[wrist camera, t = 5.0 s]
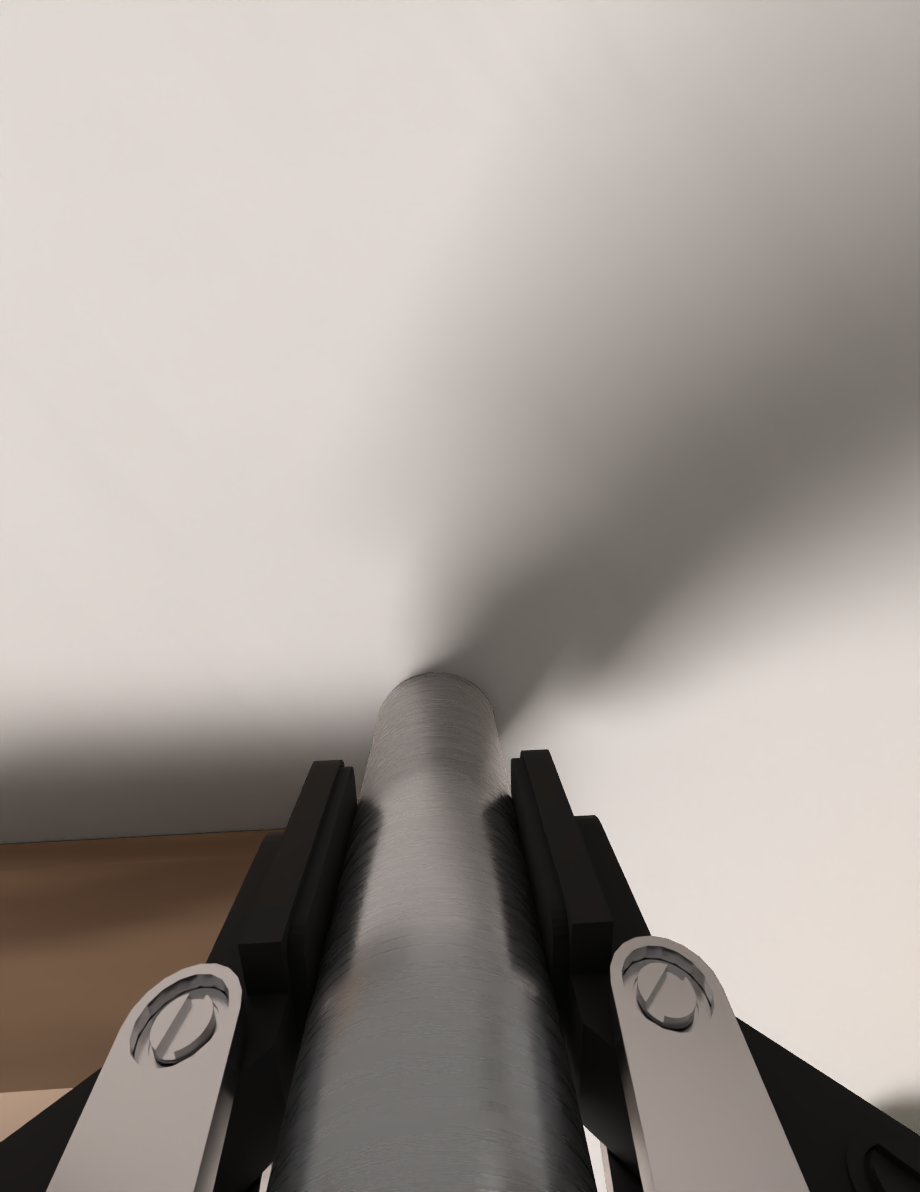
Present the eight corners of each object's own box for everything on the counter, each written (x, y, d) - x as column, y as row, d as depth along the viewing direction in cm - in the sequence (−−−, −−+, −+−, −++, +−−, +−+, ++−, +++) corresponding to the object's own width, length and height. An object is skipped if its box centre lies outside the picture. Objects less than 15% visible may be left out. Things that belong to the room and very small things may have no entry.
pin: (373, 675, 13) (-105, 2228, 2) (494, 670, 13) (872, 2094, 2) (381, 781, 14) (110, 2301, 2) (495, 775, 14) (756, 2208, 3)
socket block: (-136, 851, 14) (-546, 1130, 8) (370, 824, 14) (325, 1071, 9) (0, 1183, 18) (-215, 1538, 12) (401, 1153, 18) (382, 1481, 12)
